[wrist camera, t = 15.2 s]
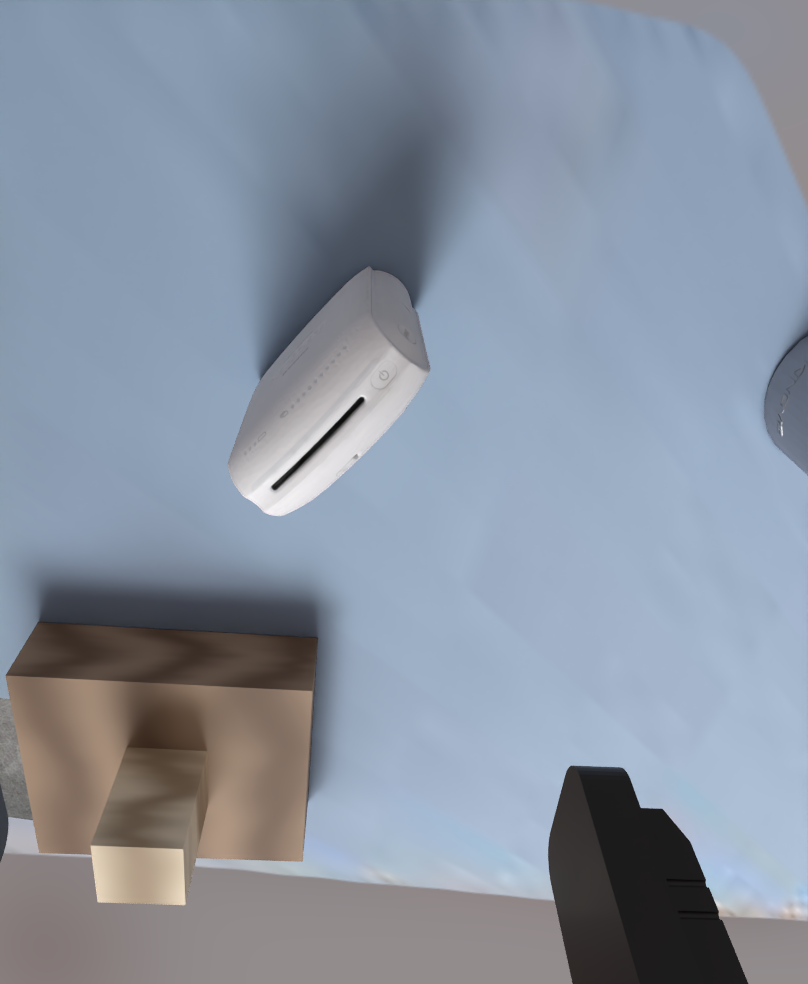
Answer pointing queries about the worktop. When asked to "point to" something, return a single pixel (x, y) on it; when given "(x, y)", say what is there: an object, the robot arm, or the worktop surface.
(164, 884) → the beech block
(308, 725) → the walnut base
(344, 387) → the photo printer
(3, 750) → the meat cleaver
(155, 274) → the worktop surface
